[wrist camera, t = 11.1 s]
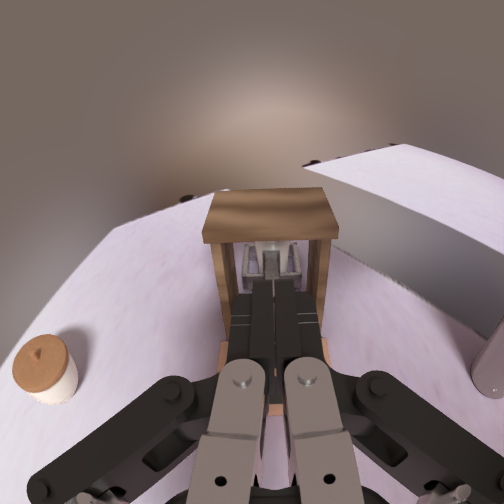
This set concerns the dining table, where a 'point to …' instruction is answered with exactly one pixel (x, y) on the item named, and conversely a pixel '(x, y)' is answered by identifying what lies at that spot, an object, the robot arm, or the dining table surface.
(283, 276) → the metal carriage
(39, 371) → the lidded jar
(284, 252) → the drinking glass
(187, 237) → the dining table surface
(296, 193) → the walnut tunnel
